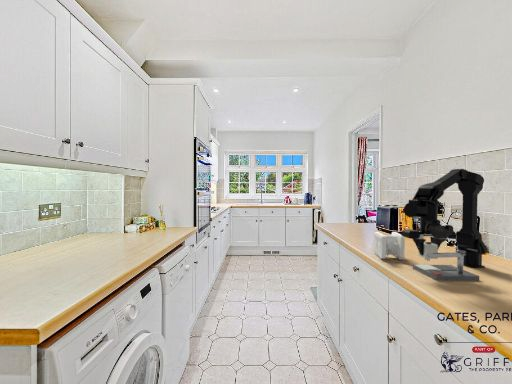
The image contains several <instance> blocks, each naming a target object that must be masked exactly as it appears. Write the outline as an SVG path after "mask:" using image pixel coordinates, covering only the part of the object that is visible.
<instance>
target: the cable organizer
mask: <svg viewBox="0 0 512 384" xmlns="http://www.w3.org/2000/svg"><path fill="white" fill-rule="evenodd" d="M405 238H406V237H404V236H402V233H399V232H396V231H392V232H391V234H389V235H388V234H383V233H381V232H380V231H374V232H373V253H375V254H376V256H377V257H378V258H379V259H381V260H383V259H386V258H387V256H389V255H392V256H394V257H396V258H397V259H398V260H399V261H402V260H404V259H405V252H406V251H405V249H406V248H405V246H406V243H405V242H406V239H405Z"/></svg>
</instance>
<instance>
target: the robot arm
mask: <svg viewBox="0 0 512 384" xmlns="http://www.w3.org/2000/svg"><path fill="white" fill-rule="evenodd" d="M484 183H485V178H484V176H482V175H481V174H479V173H477V172H473V171H469V170H467V169H464V168H453V169H451V170H450V171H449V172H447V173H446V174H444V175H443V176H441V177H440V178H438V179H437V180H435V181H433V182H429V183H424V184H421V185H420V186H419V187H418V189H417V191H415V194H414V196H413V197H412V199H408V203H406V204H405V206H404V208H403V212H404V215H405V216H406V217H408V218H417V221H419V227H418V228H417V229H410V228H409V229H408V228H407V229H406V228H405V229H404V228H403V230H402V231H401V235H402V236H404V238H407V239H411V240H412V241H413V243H414V244H415V247H416V248H417V250H418V253H419V252H420V255H422V256H423V254H424V242H427V240H426V239H425V238H424V237H430V238H429V239H430V242H431V243H433V244H436V245H438V250H439V249H440V246H441V245H442V244H443V243H444V242H447V241H448V239H449V240H451V239H452V240H454V239H455V241H456V247H457V250H464V251H466V253H465V254H464V262H463V266H466V267H469V268H486V266H485V265H483V262H482V261H483V255H486V254H487V252H488V247H487V246H486V244H485V243H484V241H483V237H482V236H483V235H482V234H481V232H480V231H479V229H478V195H479V194H480V192H481V191H482V190H483V188H484ZM455 184H457V187H458V191H460V193H461V195H462V213H461V214H462V216H461V217H462V220H461V228H460V229H459V231H458V230H457V231H456V232H455V230H454V226H453V225H451V224H445V225H441V220H440V219H438V211H439V209H438V206H441V205H442V202H440V201H439V199H441V198H442V196H444V195H445V191H446V190H447V189H448V188H450V187H452V186H453V185H455Z"/></svg>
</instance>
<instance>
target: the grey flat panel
mask: <svg viewBox="0 0 512 384" xmlns="http://www.w3.org/2000/svg"><path fill="white" fill-rule="evenodd" d="M412 269H413V270H415V271H416V272H419V273H421V274H423V275H424V276H426V277H429V278H430V279H433V280H435V281H480V276H479V275H478V274H475V273H472V272H470V271H467V270H465V269H463V274H458V273H457V266H454V265H452V264H412Z"/></svg>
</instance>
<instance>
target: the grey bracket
mask: <svg viewBox="0 0 512 384" xmlns="http://www.w3.org/2000/svg"><path fill="white" fill-rule="evenodd" d="M465 253H466V251H464V250H459V249H455V252H451V251H450V252H438V253H427V255H425V258H424V260H425V261H428V262H429V261H430V260H431V259H430V258H438V259H439V258H440V259H442V258H456V259H457V261H456V262H457V263H456V264H457V265H456V267H457V273H458V274H463V270H464V265H463V262H464V254H465Z"/></svg>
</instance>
